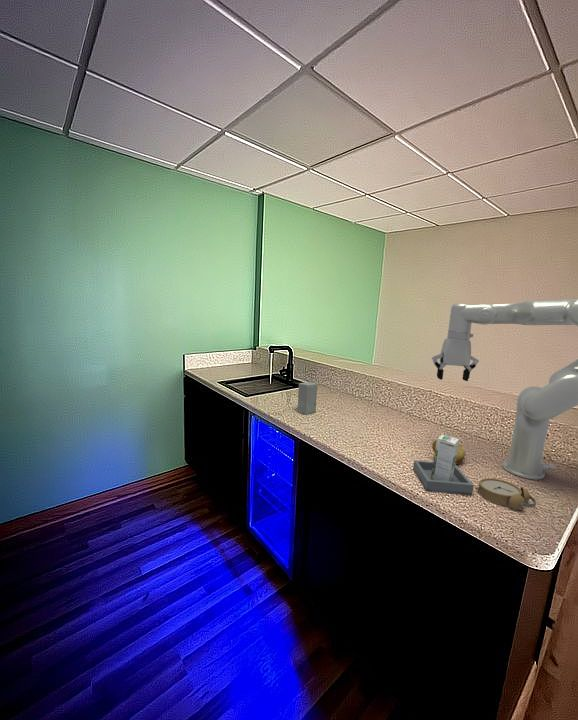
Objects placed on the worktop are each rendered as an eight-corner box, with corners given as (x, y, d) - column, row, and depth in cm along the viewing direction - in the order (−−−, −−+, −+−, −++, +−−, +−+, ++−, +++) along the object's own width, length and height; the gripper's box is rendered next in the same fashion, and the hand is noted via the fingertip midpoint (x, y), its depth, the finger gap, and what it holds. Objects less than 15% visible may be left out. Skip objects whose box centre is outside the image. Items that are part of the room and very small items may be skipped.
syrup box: (435, 472, 112) (440, 433, 109) (453, 479, 108) (459, 438, 106) (430, 479, 107) (435, 438, 105) (449, 486, 104) (455, 443, 101)
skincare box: (305, 415, 167) (307, 385, 164) (296, 411, 172) (297, 382, 169) (316, 412, 172) (318, 383, 170) (307, 408, 178) (309, 380, 175)
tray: (453, 472, 114) (454, 463, 114) (472, 495, 100) (473, 485, 100) (413, 469, 115) (414, 460, 115) (426, 491, 101) (427, 481, 101)
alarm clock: (486, 474, 108) (541, 488, 96) (486, 489, 108) (541, 504, 97) (471, 485, 101) (529, 500, 90) (472, 500, 102) (529, 518, 90)
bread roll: (450, 452, 131) (452, 434, 129) (472, 463, 122) (475, 443, 121) (427, 457, 125) (430, 438, 124) (449, 469, 116) (452, 449, 115)
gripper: (476, 336, 126) (470, 378, 129) (431, 334, 127) (426, 376, 130) (486, 338, 119) (480, 383, 122) (439, 335, 120) (433, 380, 123)
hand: (452, 379), depth 126 cm, fingers open, 9 cm apart
